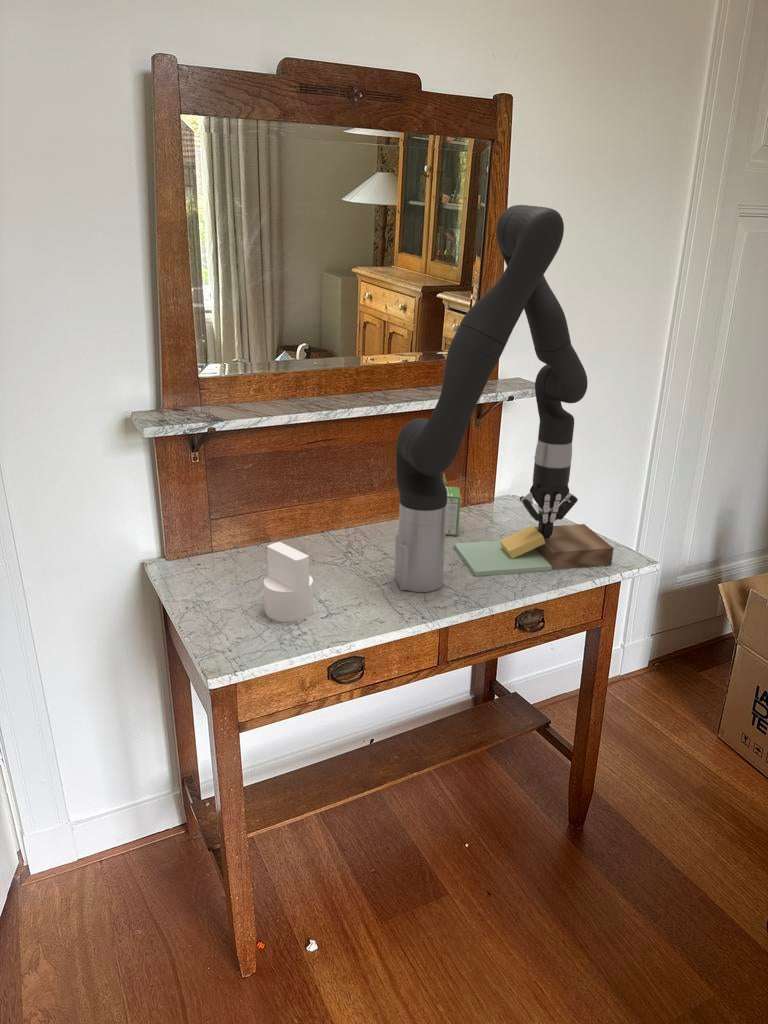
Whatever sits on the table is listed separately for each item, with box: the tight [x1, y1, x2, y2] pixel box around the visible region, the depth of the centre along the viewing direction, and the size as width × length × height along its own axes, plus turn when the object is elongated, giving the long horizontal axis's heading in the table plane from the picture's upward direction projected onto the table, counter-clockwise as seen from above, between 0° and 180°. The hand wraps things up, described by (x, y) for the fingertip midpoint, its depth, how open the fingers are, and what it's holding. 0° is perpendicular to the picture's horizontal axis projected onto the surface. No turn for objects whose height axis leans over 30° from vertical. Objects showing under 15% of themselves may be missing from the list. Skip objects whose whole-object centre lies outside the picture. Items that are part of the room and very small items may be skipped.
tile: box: [499, 525, 545, 559], centre depth 165 cm, size 8×6×2 cm
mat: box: [453, 540, 553, 577], centre depth 164 cm, size 17×15×1 cm
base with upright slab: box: [263, 541, 314, 623], centre depth 139 cm, size 9×9×12 cm
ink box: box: [442, 472, 462, 537], centre depth 177 cm, size 7×4×13 cm, turn 179°
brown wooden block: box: [533, 523, 614, 570], centre depth 167 cm, size 14×14×4 cm
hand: (544, 537), depth 165 cm, fingers closed
